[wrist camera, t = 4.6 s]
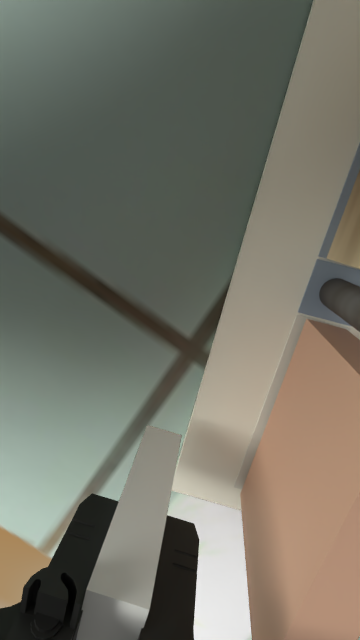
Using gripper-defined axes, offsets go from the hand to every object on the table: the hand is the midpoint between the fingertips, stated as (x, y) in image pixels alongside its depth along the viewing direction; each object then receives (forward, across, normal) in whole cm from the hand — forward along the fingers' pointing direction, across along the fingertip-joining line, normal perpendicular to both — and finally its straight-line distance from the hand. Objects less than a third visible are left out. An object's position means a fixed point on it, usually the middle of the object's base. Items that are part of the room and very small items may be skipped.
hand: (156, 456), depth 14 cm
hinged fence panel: (+1, +5, +3) cm, 6 cm away
